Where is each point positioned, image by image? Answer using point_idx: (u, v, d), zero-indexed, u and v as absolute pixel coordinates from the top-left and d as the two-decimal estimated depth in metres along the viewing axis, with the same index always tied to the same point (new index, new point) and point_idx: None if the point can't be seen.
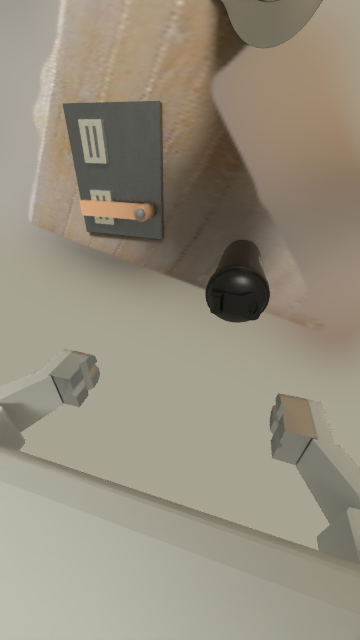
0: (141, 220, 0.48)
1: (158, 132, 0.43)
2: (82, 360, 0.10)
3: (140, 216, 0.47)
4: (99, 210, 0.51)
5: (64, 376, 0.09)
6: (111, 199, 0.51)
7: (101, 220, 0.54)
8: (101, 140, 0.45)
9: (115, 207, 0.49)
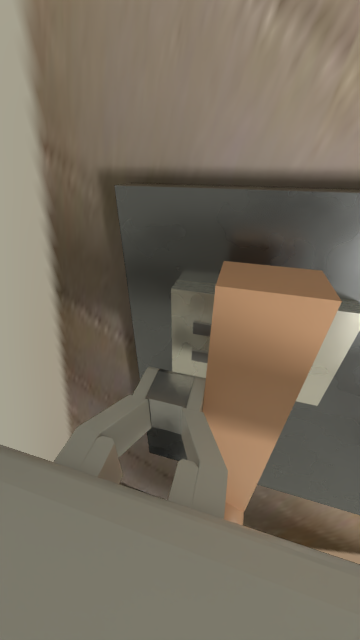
0: None
1: None
2: (174, 380, 0.09)
3: None
4: (238, 406, 0.08)
5: (162, 399, 0.08)
6: None
7: (186, 327, 0.10)
8: None
9: (245, 464, 0.10)
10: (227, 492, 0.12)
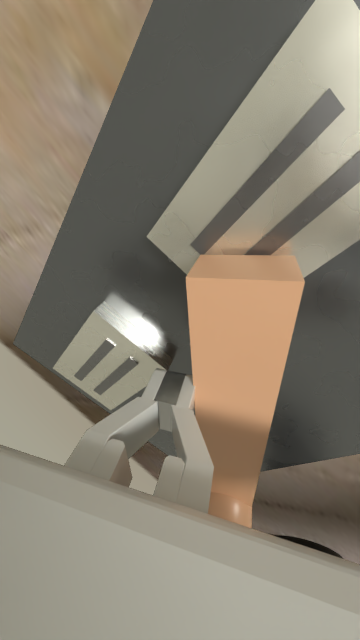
0: None
1: None
2: (183, 382, 0.09)
3: None
4: (227, 395, 0.09)
5: (171, 401, 0.08)
6: None
7: (77, 379, 0.15)
8: (319, 250, 0.07)
9: (244, 455, 0.10)
10: (232, 486, 0.12)
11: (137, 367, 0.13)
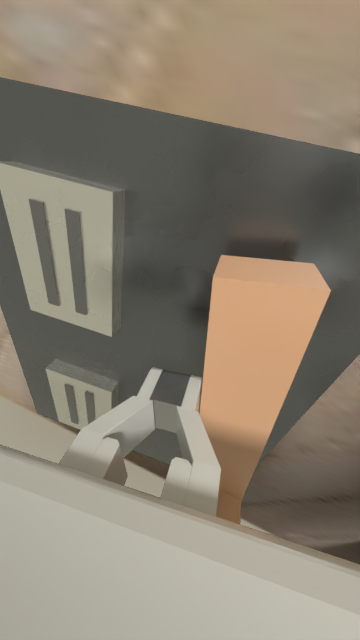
0: None
1: None
2: (178, 381, 0.09)
3: None
4: (235, 394, 0.09)
5: (166, 400, 0.08)
6: (112, 402, 0.17)
7: (76, 424, 0.19)
8: (102, 270, 0.10)
9: (242, 452, 0.11)
10: (225, 481, 0.13)
11: (95, 397, 0.16)
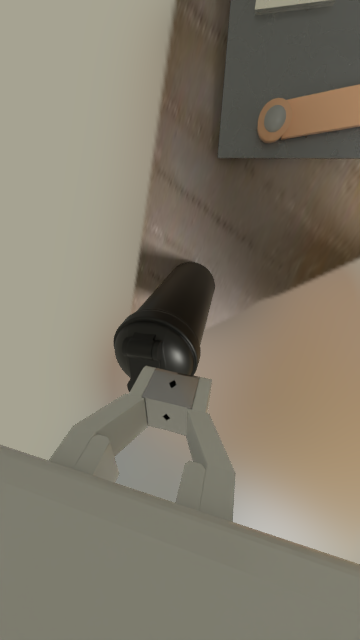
0: (274, 102, 0.22)
1: None
2: (170, 379, 0.09)
3: (274, 112, 0.22)
4: None
5: (158, 398, 0.08)
6: (314, 3, 0.21)
7: None
8: None
9: (342, 117, 0.22)
10: (304, 119, 0.23)
11: None
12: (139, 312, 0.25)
